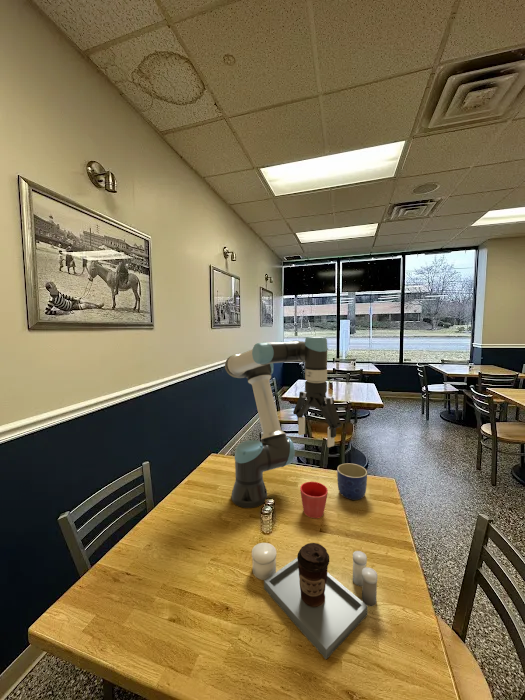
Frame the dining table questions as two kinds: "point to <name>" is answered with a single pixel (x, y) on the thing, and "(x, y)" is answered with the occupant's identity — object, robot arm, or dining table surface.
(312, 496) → the flower pot
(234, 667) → the dining table surface
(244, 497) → the robot arm
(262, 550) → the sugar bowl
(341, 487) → the planter
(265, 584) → the tray
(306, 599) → the coffee cup
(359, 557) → the salt shaker
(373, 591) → the pepper shaker
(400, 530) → the dining table surface
